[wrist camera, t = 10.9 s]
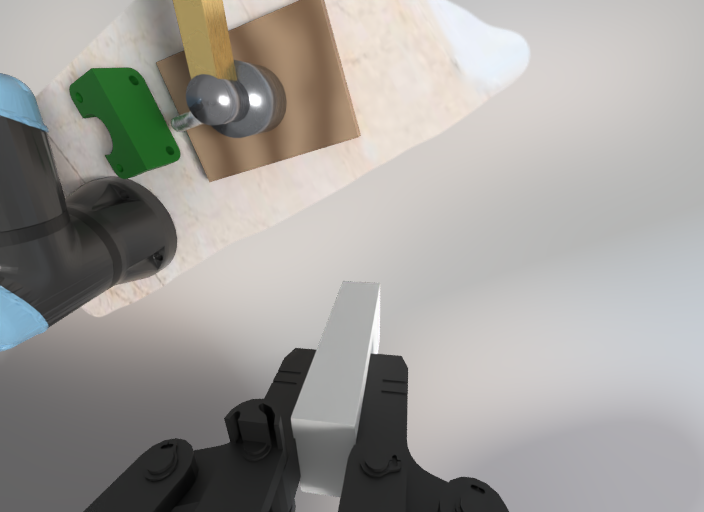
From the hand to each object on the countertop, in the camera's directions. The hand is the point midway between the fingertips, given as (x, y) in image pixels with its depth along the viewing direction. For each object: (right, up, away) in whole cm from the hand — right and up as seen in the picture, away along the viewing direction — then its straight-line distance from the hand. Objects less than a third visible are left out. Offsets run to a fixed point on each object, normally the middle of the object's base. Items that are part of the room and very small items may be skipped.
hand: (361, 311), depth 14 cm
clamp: (-27, +19, +30) cm, 45 cm away
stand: (-11, +21, +26) cm, 35 cm away
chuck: (-14, +19, +25) cm, 35 cm away
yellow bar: (-13, +23, +16) cm, 31 cm away
